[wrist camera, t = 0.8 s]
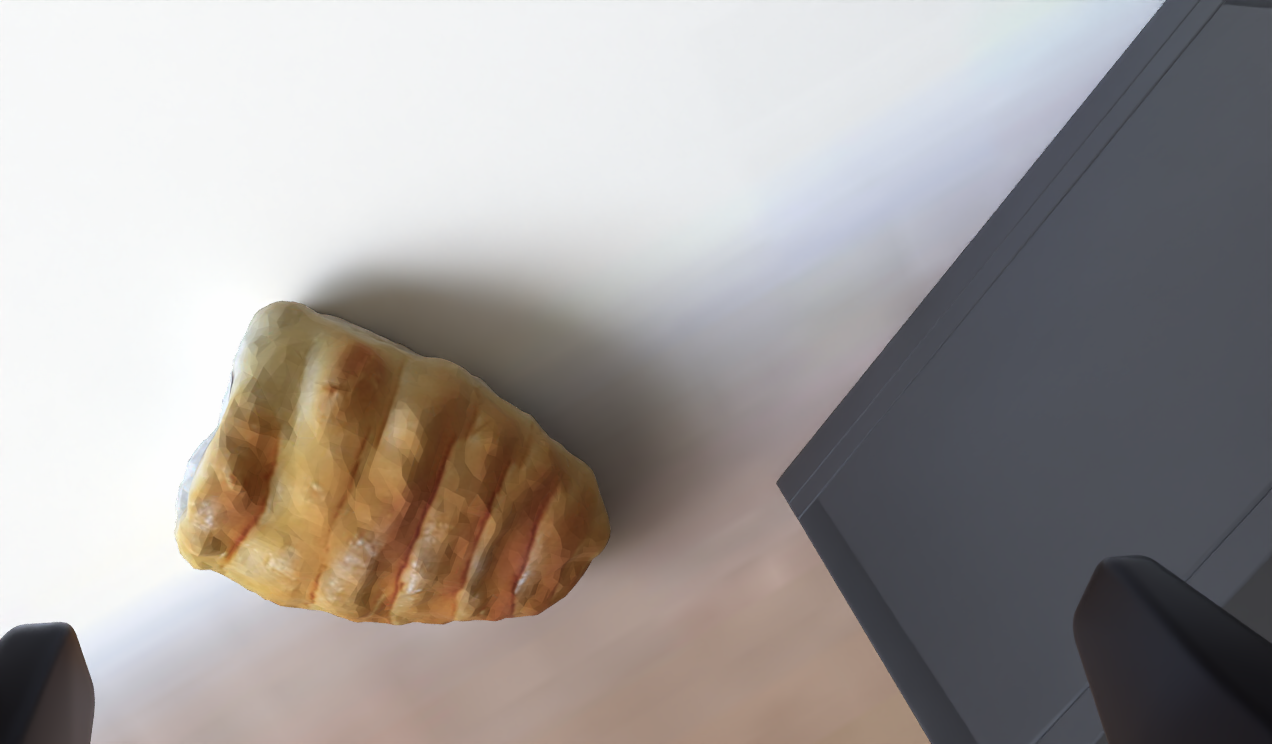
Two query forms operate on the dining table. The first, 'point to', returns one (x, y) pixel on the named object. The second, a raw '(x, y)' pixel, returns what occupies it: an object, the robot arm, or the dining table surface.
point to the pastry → (382, 483)
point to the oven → (1072, 397)
